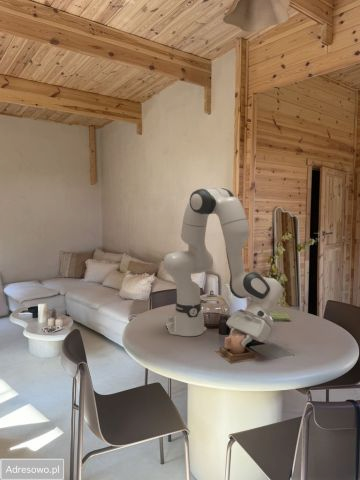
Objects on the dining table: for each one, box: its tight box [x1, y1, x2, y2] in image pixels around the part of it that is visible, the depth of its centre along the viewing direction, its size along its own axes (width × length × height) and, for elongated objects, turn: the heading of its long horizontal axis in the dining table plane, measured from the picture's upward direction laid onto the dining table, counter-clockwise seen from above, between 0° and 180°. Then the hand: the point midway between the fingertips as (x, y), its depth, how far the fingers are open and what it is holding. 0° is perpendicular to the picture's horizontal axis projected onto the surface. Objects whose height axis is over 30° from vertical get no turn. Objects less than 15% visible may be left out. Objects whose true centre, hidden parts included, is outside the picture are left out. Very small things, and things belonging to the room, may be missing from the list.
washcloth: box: [269, 310, 292, 323], centre depth 199 cm, size 13×18×3 cm
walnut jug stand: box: [214, 346, 261, 365], centre depth 143 cm, size 13×13×4 cm
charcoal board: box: [249, 342, 295, 360], centre depth 147 cm, size 14×12×2 cm
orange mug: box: [224, 331, 246, 355], centre depth 142 cm, size 6×8×8 cm
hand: (235, 342), depth 142 cm, fingers closed on orange mug, 6 cm apart
